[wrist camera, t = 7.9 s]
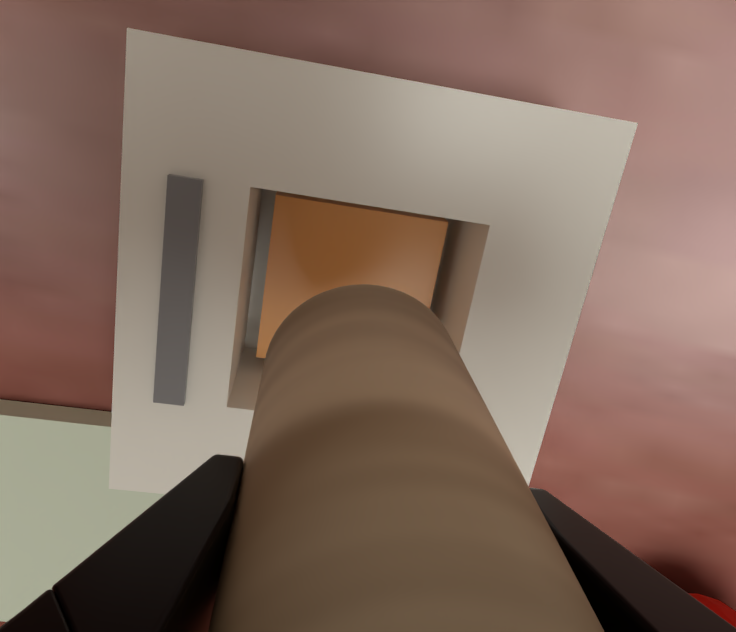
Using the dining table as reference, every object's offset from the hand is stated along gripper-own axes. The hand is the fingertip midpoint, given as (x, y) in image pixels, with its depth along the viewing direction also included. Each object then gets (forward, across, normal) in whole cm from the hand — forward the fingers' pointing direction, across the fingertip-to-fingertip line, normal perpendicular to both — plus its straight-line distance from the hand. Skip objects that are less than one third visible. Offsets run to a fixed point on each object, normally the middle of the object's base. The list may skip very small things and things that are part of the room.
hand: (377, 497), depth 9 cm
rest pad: (+13, +9, +11) cm, 19 cm away
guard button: (+12, 0, 0) cm, 12 cm away
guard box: (+13, 0, 0) cm, 13 cm away
